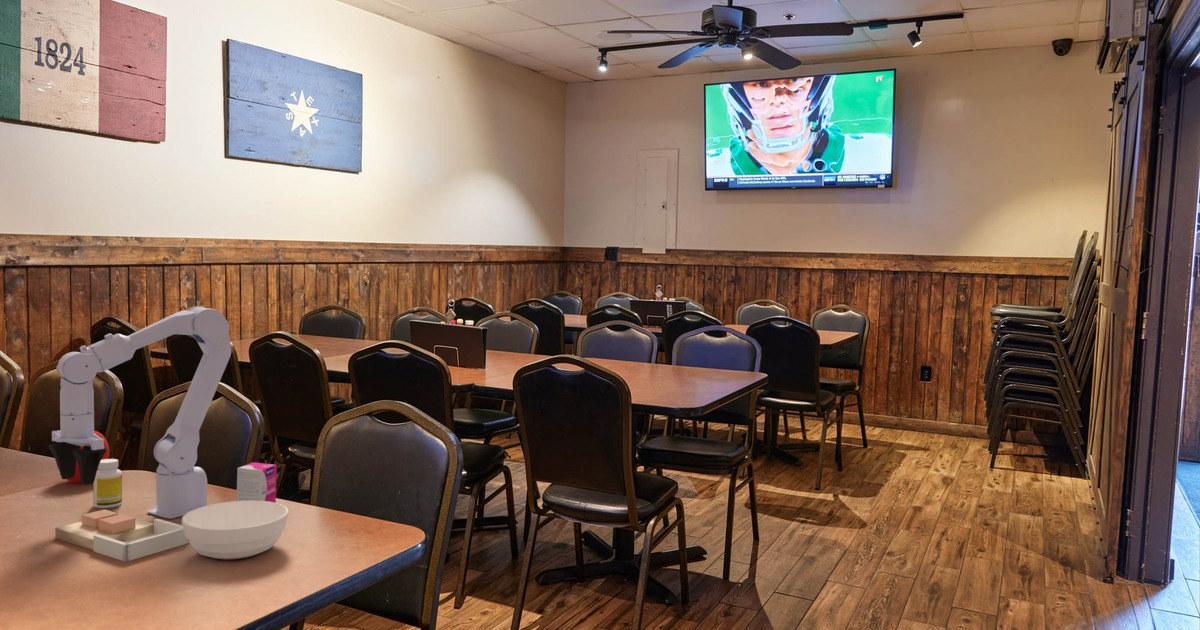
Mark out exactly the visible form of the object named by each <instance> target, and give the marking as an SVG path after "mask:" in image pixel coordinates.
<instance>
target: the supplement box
mask: <svg viewBox="0 0 1200 630" xmlns="http://www.w3.org/2000/svg"><path fill="white" fill-rule="evenodd" d="M277 467H278V466H277V464H275V463H274V464H271V463H261V462H250V463H248V464H245V465H242V466H239V467H237V468H236V471H237V473H236V474H237V475H236V501H267V502H273V503H277V502H276V500H277V499H276V497H277Z"/></svg>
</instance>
